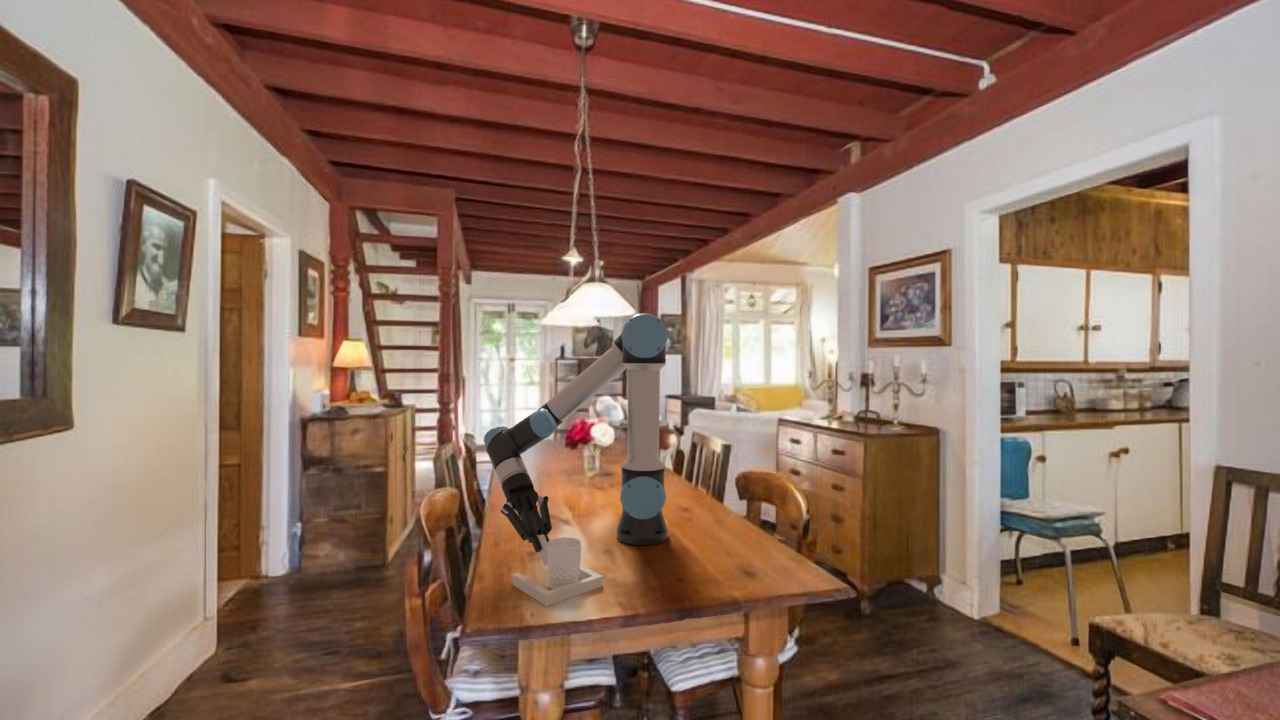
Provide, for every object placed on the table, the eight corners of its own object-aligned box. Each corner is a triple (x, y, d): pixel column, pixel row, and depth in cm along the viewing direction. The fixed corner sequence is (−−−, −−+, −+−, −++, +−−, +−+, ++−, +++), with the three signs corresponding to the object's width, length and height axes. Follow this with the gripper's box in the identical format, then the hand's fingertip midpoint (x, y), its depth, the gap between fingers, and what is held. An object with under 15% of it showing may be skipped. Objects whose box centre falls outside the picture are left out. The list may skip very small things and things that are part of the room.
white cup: (562, 596, 121) (562, 551, 121) (539, 585, 126) (540, 543, 126) (588, 585, 127) (588, 542, 127) (565, 575, 132) (566, 534, 132)
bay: (512, 584, 127) (512, 574, 127) (567, 567, 137) (567, 558, 137) (546, 606, 116) (546, 595, 116) (602, 586, 126) (602, 576, 126)
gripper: (531, 484, 148) (565, 563, 136) (486, 492, 139) (519, 577, 127) (541, 467, 144) (578, 547, 132) (496, 474, 135) (530, 560, 123)
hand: (549, 561), depth 129 cm, fingers closed
